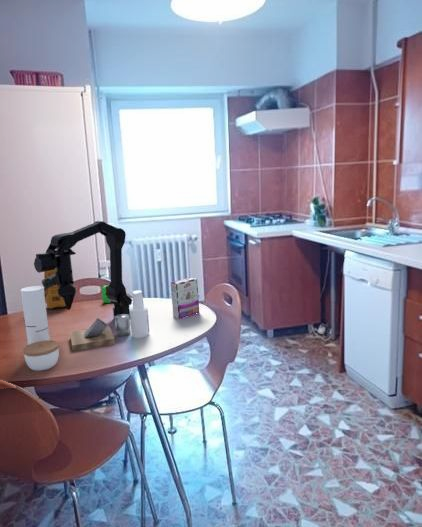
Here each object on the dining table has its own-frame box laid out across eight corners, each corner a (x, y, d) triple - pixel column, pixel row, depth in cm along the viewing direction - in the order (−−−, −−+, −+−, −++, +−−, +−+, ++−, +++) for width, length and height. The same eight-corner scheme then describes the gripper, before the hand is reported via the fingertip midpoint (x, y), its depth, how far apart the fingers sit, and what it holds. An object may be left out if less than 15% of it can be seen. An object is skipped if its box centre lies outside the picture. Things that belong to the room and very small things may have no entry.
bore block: (109, 333, 169) (109, 325, 169) (115, 346, 156) (114, 338, 155) (71, 339, 164) (70, 332, 164) (73, 353, 151) (72, 345, 150)
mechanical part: (113, 302, 212) (112, 287, 210) (103, 302, 214) (101, 287, 212) (125, 296, 223) (123, 281, 221) (114, 295, 225) (113, 281, 223)
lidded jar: (26, 365, 142) (22, 339, 140) (59, 359, 146) (56, 333, 145) (26, 378, 133) (22, 350, 131) (62, 371, 137) (58, 344, 135)
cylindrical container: (33, 354, 152) (24, 286, 147) (54, 352, 152) (46, 285, 147) (27, 362, 145) (17, 291, 140) (48, 361, 145) (39, 290, 140)
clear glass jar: (129, 332, 169) (127, 313, 168) (132, 336, 164) (130, 317, 163) (115, 334, 167) (113, 315, 166) (117, 339, 162) (115, 319, 161)
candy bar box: (193, 312, 191) (191, 276, 188) (199, 314, 187) (198, 278, 184) (172, 318, 184) (170, 281, 181) (178, 320, 180) (176, 283, 177)
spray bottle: (152, 334, 166) (149, 289, 163) (144, 340, 160) (140, 294, 156) (137, 332, 168) (133, 288, 165) (128, 339, 162) (124, 293, 158)
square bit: (92, 339, 162) (105, 323, 162) (92, 343, 158) (106, 326, 159) (83, 334, 160) (97, 317, 161) (84, 337, 157) (98, 320, 157)
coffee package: (45, 304, 213) (39, 261, 209) (70, 300, 218) (65, 258, 214) (47, 309, 204) (41, 265, 200) (73, 305, 210) (68, 261, 205)
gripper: (41, 265, 169) (46, 303, 172) (41, 274, 152) (46, 316, 155) (71, 262, 173) (75, 299, 176) (73, 271, 155) (78, 311, 159)
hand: (68, 306), depth 166 cm, fingers open, 9 cm apart
